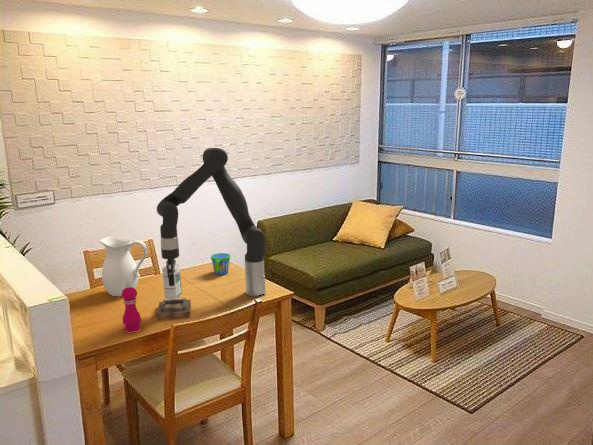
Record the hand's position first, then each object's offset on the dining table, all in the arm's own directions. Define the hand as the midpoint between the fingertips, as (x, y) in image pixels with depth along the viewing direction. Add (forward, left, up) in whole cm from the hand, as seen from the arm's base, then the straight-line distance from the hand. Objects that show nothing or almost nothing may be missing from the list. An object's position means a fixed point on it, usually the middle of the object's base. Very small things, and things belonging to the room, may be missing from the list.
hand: (172, 282), depth 217 cm
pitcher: (+24, -28, -14) cm, 39 cm away
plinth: (0, 0, -14) cm, 14 cm away
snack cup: (-23, -49, -14) cm, 56 cm away
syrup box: (0, 0, -7) cm, 7 cm away
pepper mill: (+16, +15, -14) cm, 26 cm away
